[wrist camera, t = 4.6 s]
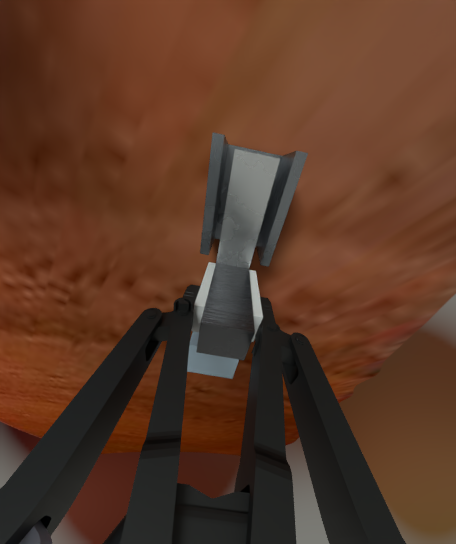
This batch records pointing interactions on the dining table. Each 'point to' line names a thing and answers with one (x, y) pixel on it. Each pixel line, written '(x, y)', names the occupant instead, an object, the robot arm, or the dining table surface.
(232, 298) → the gray bent bar
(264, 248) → the open u-shaped channel
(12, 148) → the dining table surface
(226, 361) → the socket
